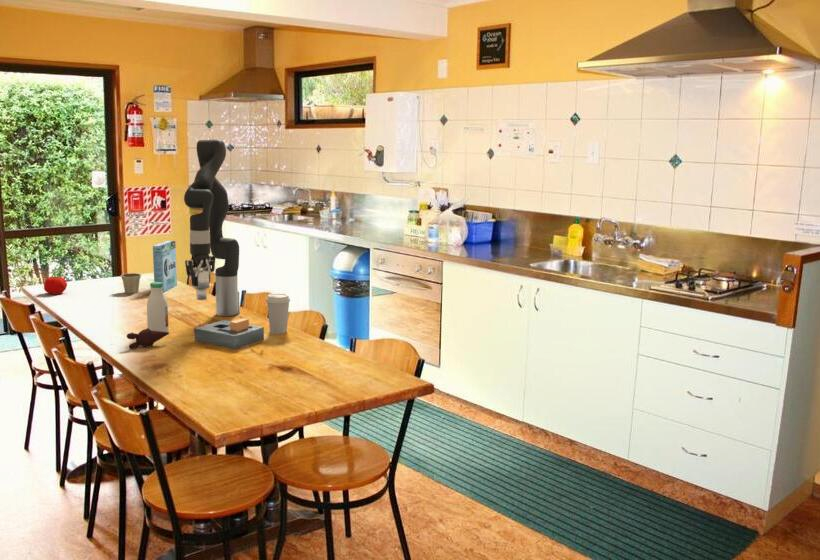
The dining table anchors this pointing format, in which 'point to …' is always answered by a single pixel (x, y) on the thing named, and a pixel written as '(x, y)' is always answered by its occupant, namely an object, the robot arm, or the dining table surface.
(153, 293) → the milk bottle
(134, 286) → the flower pot
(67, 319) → the dining table surface
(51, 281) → the tomato
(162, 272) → the gum box
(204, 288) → the grey white cylinder
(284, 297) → the coffee cup
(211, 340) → the jig
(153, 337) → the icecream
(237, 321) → the block
